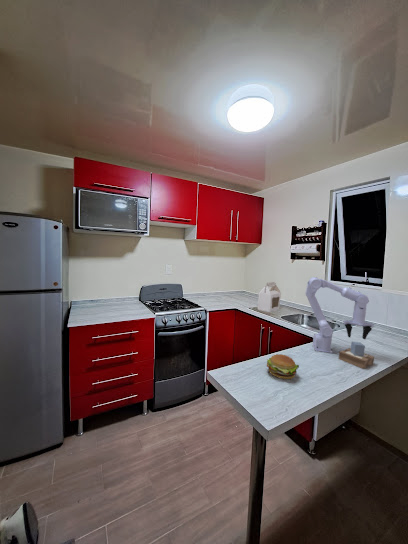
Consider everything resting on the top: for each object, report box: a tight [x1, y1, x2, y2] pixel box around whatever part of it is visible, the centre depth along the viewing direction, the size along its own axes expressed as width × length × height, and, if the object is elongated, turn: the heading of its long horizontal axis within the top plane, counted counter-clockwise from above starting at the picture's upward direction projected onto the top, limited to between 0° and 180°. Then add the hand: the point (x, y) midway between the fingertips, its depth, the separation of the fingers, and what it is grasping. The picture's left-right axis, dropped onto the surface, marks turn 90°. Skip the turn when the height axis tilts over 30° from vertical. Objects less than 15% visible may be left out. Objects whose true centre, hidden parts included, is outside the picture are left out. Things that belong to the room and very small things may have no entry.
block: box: [350, 341, 366, 357], centre depth 122 cm, size 4×4×6 cm
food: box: [266, 353, 300, 380], centre depth 105 cm, size 14×14×8 cm
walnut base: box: [338, 347, 375, 370], centre depth 123 cm, size 12×12×4 cm
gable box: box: [257, 281, 282, 313], centre depth 231 cm, size 22×13×28 cm, turn 136°
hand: (356, 337), depth 130 cm, fingers open, 7 cm apart
